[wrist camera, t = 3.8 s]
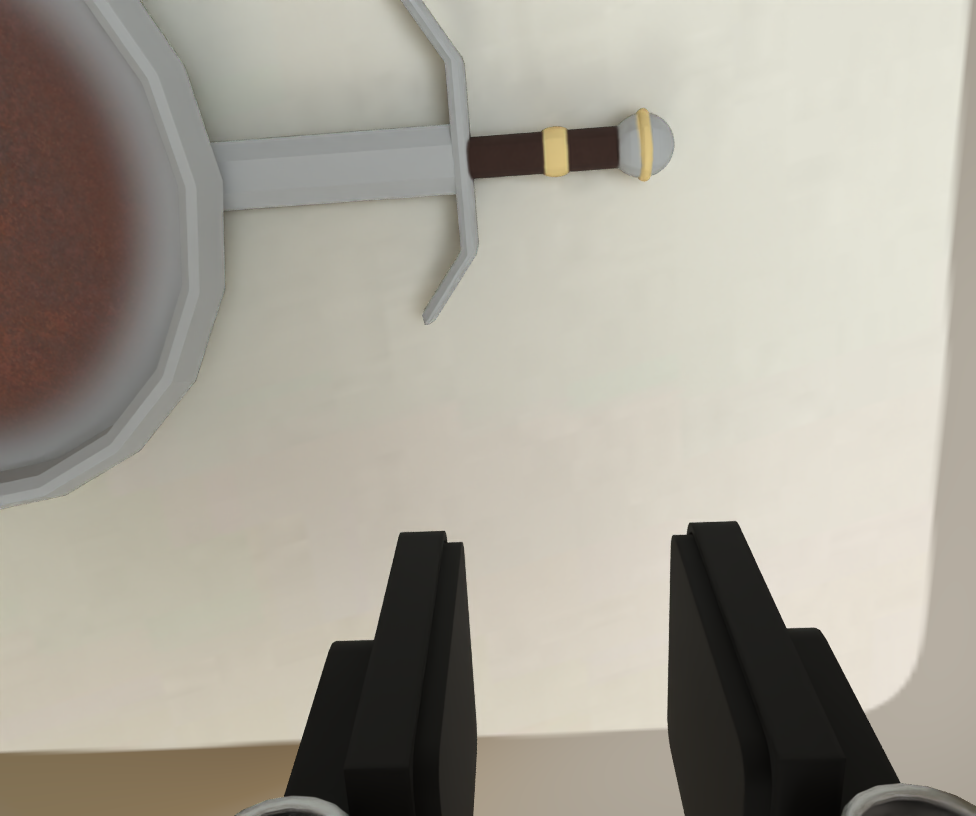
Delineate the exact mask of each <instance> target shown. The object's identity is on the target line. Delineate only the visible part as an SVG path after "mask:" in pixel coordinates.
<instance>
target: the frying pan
mask: <svg viewBox="0 0 976 816" xmlns="http://www.w3.org/2000/svg"><path fill="white" fill-rule="evenodd" d="M401 2H402V3H403V4H404V6H405V7H406V9H407V10H408V11H409V13H410V14H411V16H412V17H413V18H414V20H415V21H416V23H417V24H418V25H419V27H420V28H421V30H422V31H423V32H424V34H425V35H426V37H427V38H428V39H429V41H430V42H431V44H432V45H433V46H434V48H435V49H436V51H437V52H438V53H439V55H440V56H441V58H442V59H443V60H444V62H445V70H446V82H447V93H448V105H449V116H450V124H445V125H432V126H419V127H406V128H393V129H380V130H366V131H353V132H340V133H327V134H314V135H301V136H288V137H275V138H262V139H249V140H236V141H222V142H210V141H209V138H208V135H207V132H206V129H205V126H204V123H203V120H202V117H201V114H200V111H199V108H198V105H197V102H196V99H195V96H194V93H193V90H192V87H191V84H190V81H189V78H188V75H187V72H186V69H185V66H184V65H183V63H182V62H181V60H180V59H179V57H178V56H177V54H176V53H175V51H174V50H173V48H172V47H171V46H170V44H169V43H168V41H167V40H166V38H165V37H164V35H163V34H162V32H161V31H160V30H159V28H158V27H157V25H156V24H155V22H154V21H153V19H152V18H151V16H150V15H149V14H148V12H147V11H146V9H145V8H144V6H143V5H142V3H141V2H140V0H0V509H3V508H8V507H13V506H18V505H22V504H27V503H32V502H37V501H41V500H46V499H51V498H56V497H60V496H65V495H67V494H69V493H70V492H72V491H74V490H75V489H77V488H79V487H80V486H82V485H84V484H85V483H87V482H89V481H90V480H92V479H94V478H95V477H97V476H99V475H100V474H102V473H104V472H105V471H107V470H109V469H110V468H112V467H114V466H115V465H117V464H119V463H120V462H122V461H124V460H125V459H127V458H129V457H130V456H132V455H134V454H135V453H137V452H139V451H140V450H141V449H142V448H143V446H144V445H145V444H146V443H147V441H148V440H149V439H150V438H151V436H152V435H153V434H154V433H155V431H156V430H157V429H158V428H159V426H160V425H161V424H162V422H163V421H164V420H165V419H166V417H167V416H168V415H169V414H170V412H171V411H172V410H173V409H174V407H175V406H176V405H177V403H178V402H179V401H180V400H181V398H182V397H183V396H184V395H185V393H186V392H187V391H188V390H189V388H190V387H191V386H192V385H193V383H194V382H195V381H196V378H197V375H198V372H199V369H200V366H201V362H202V359H203V356H204V353H205V350H206V347H207V344H208V341H209V337H210V334H211V331H212V328H213V325H214V322H215V319H216V316H217V313H218V309H219V306H220V303H221V300H222V297H223V294H224V291H225V260H224V214H223V211H229V210H243V209H257V208H271V207H284V206H298V205H312V204H326V203H340V202H353V201H367V200H381V199H395V198H409V197H422V196H436V195H450V194H456V197H457V209H458V221H459V232H460V244H461V251H460V253H459V254H458V256H457V257H456V259H455V261H454V262H453V264H452V266H451V267H450V269H449V270H448V272H447V274H446V275H445V277H444V278H443V280H442V282H441V283H440V285H439V287H438V288H437V290H436V291H435V293H434V295H433V296H432V298H431V300H430V301H429V303H428V304H427V306H426V308H425V309H424V312H423V315H422V316H423V320H424V323H425V325H428V324H430V323H432V322H433V321H435V320H436V318H437V317H438V315H439V313H440V312H441V310H442V309H443V307H444V305H445V304H446V302H447V301H448V299H449V297H450V296H451V294H452V293H453V291H454V290H455V288H456V286H457V285H458V283H459V282H460V280H461V278H462V277H463V275H464V274H465V272H466V270H467V269H468V267H469V266H470V264H471V262H472V261H473V259H474V258H475V256H476V254H477V250H478V245H479V238H478V226H477V213H476V200H475V188H474V179H477V178H490V177H504V176H518V175H531V174H544V175H546V176H550V177H559V176H563V175H566V174H567V173H569V172H572V171H586V170H600V169H613V168H619V169H620V170H621V171H623V172H624V173H626V174H628V175H630V176H633V177H638V179H639V180H641V181H647V180H649V179H650V177H651V176H652V175H655V174H657V173H658V172H660V171H661V170H663V169H664V168H665V167H666V165H667V164H668V163H669V161H670V159H671V157H672V154H673V151H674V137H673V133H672V131H671V129H670V127H669V125H668V124H667V123H666V122H665V121H664V120H663V119H662V118H661V117H659V116H657V115H654V114H651V113H649V112H648V111H647V110H646V109H644V108H642V109H640V110H639V111H637V113H636V114H634V115H631V116H629V117H627V118H626V119H624V120H623V121H622V122H621V123H620V124H619V125H618V126H612V127H599V128H585V129H572V130H568V129H566V128H564V127H557V126H554V127H549V128H546V129H544V130H542V131H541V132H532V133H519V134H506V135H493V136H479V137H470V125H469V112H468V99H467V87H466V74H465V64H464V61H463V58H462V56H461V55H460V53H459V52H458V51H457V49H456V48H455V46H454V45H453V44H452V42H451V41H450V39H449V38H448V36H447V35H446V34H445V32H444V31H443V29H442V28H441V27H440V25H439V24H438V22H437V21H436V19H435V18H434V17H433V15H432V14H431V12H430V11H429V10H428V8H427V7H426V5H425V4H424V2H423V1H422V0H401Z"/></svg>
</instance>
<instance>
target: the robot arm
mask: <svg viewBox="0 0 976 816" xmlns="http://www.w3.org/2000/svg"><path fill="white" fill-rule="evenodd" d="M667 721H668V735H669V743H670V749H671V754H672V759H673V763H674V767H675V772H676V777H677V782H678V786H679V791H680V795H681V800H682V805H683V809H684V814H685V816H976V806H975V805H973V804H971V803H969V802H967V801H965V800H964V799H962V798H959V797H958V796H956V795H953V794H950V793H947V792H943V791H941V790H938V789H934V788H931V787H928V786H919V785H912V784H903V783H900V781H899V779H898V777H897V775H896V773H895V771H894V769H893V767H892V766H891V763H890V762H889V760H888V758H887V756H886V754H885V752H884V750H883V748H882V746H881V744H880V742H879V740H878V738H877V737H876V735H875V733H874V731H873V729H872V727H871V725H870V723H869V721H868V719H867V717H866V715H865V713H864V711H863V709H862V707H861V706H860V704H859V702H858V700H857V698H856V696H855V694H854V692H853V690H852V688H851V686H850V684H849V682H848V680H847V679H846V677H845V675H844V673H843V671H842V669H841V667H840V665H839V663H838V661H837V659H836V657H835V655H834V653H833V651H832V650H831V648H830V646H829V644H828V642H827V640H826V638H825V637H824V635H823V634H822V632H821V631H820V630H819V629H816V628H786V626H785V624H784V622H783V620H782V618H781V615H780V613H779V611H778V609H777V607H776V604H775V602H774V600H773V598H772V596H771V594H770V591H769V589H768V587H767V585H766V583H765V581H764V578H763V576H762V574H761V572H760V570H759V568H758V565H757V563H756V561H755V559H754V557H753V554H752V552H751V550H750V548H749V546H748V544H747V541H746V539H745V537H744V535H743V533H742V531H741V528H740V526H739V524H738V523H737V522H736V521H727V522H697V523H689V525H688V529H687V535H673V536H672V539H671V561H670V611H669V660H668V710H667ZM476 757H477V724H476V709H475V695H474V681H473V667H472V653H471V639H470V625H469V611H468V597H467V583H466V569H465V555H464V546H463V542H451V543H447V536H446V532H445V531H428V532H401V533H400V534H399V537H398V542H397V546H396V550H395V554H394V558H393V563H392V567H391V571H390V575H389V579H388V584H387V588H386V592H385V596H384V600H383V605H382V609H381V613H380V617H379V621H378V626H377V630H376V634H375V638H374V640H359V641H335V642H334V643H332V645H331V647H330V650H329V652H328V655H327V658H326V662H325V665H324V668H323V671H322V675H321V678H320V681H319V684H318V688H317V691H316V694H315V697H314V701H313V704H312V707H311V710H310V714H309V717H308V720H307V723H306V727H305V730H304V733H303V736H302V740H301V743H300V746H299V749H298V753H297V756H296V759H295V762H294V766H293V769H292V772H291V775H290V778H289V782H288V785H287V788H286V792H285V795H284V797H281V798H276V799H270V800H266V801H263V802H261V803H258V804H256V805H253V806H251V807H249V808H246V809H244V810H242V811H240V812H239V813H237V814H236V815H235V816H473V810H474V792H475V775H476V774H475V773H476Z"/></svg>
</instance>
